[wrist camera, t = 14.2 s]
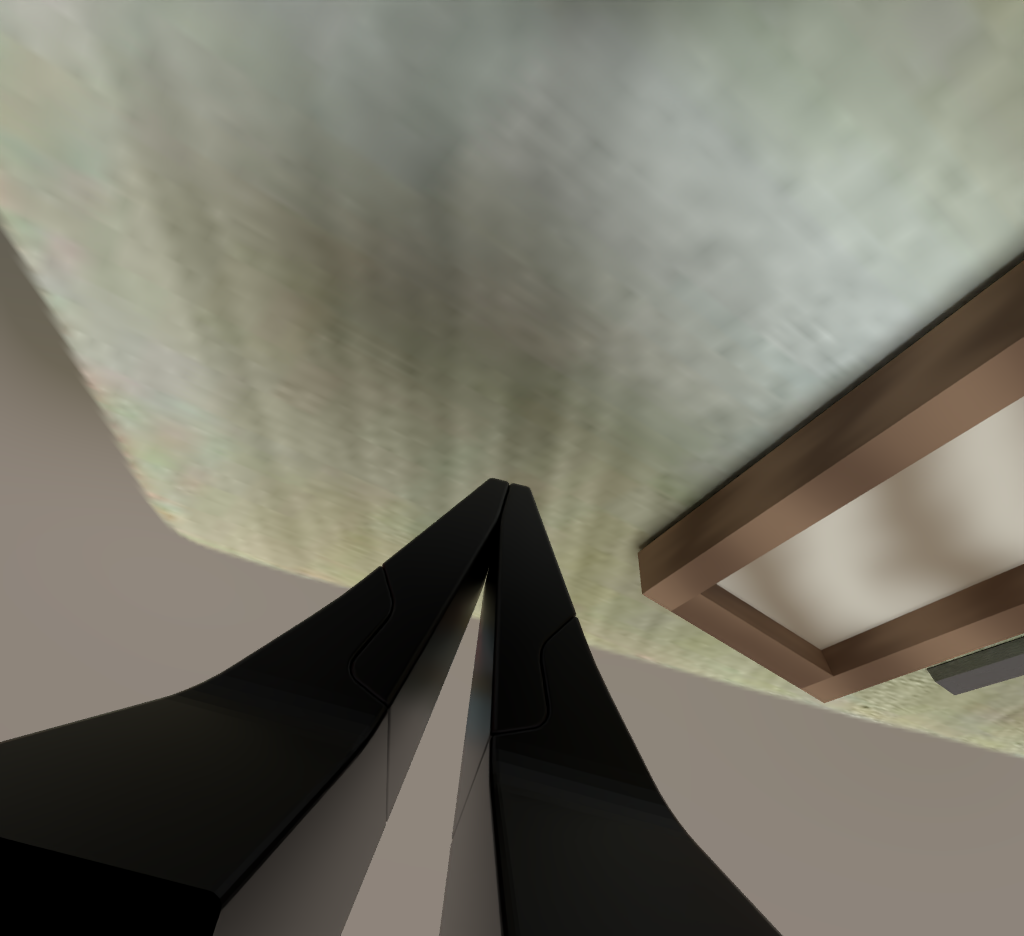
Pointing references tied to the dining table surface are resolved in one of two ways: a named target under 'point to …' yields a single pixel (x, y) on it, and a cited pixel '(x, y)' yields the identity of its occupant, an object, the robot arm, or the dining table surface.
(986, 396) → the picture frame
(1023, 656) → the strip
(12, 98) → the dining table surface
